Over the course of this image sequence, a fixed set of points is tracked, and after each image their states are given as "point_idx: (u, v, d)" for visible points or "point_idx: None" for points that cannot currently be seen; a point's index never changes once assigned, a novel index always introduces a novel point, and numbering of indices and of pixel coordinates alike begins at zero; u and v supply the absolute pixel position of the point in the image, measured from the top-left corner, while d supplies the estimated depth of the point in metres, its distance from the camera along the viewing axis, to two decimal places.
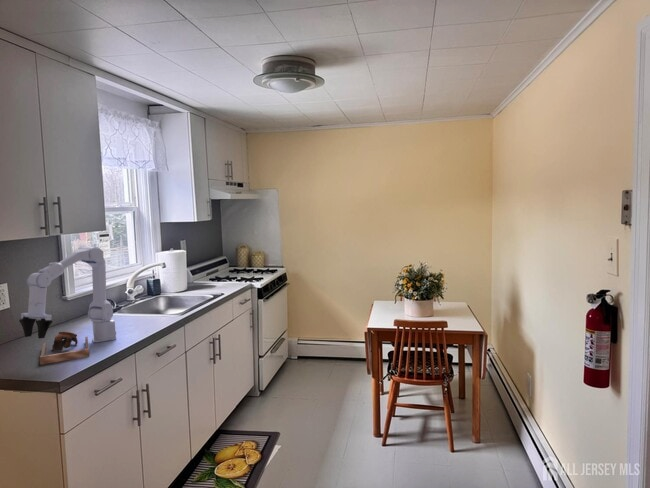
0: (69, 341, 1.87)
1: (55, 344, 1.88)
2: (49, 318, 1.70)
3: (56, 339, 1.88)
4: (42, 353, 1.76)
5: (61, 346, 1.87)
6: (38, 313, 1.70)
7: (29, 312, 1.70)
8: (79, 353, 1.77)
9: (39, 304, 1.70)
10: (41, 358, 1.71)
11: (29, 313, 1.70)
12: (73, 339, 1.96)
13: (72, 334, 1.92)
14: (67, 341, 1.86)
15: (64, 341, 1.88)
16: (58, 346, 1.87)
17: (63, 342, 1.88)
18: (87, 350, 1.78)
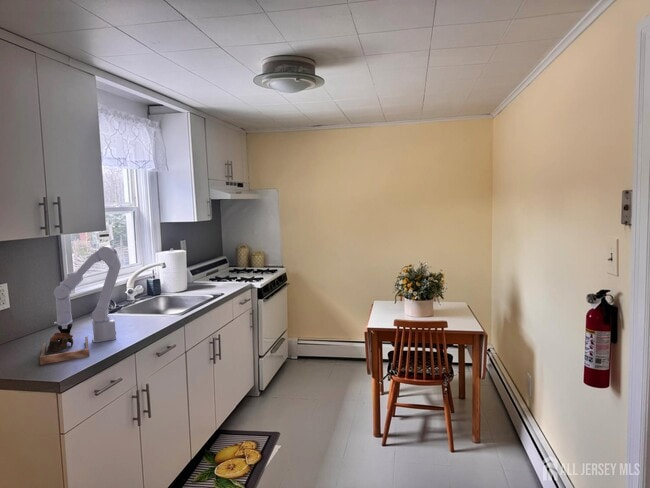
0: (65, 342, 1.85)
1: (51, 345, 1.86)
2: (65, 327, 1.90)
3: (52, 340, 1.86)
4: (42, 353, 1.76)
5: (57, 347, 1.85)
6: (61, 321, 1.93)
7: (57, 320, 1.95)
8: (79, 353, 1.77)
9: (61, 313, 1.93)
10: (41, 358, 1.71)
11: (57, 320, 1.95)
12: (69, 340, 1.94)
13: (68, 335, 1.90)
14: (63, 342, 1.85)
15: (60, 342, 1.86)
16: (54, 347, 1.85)
17: (59, 343, 1.86)
18: (87, 350, 1.78)
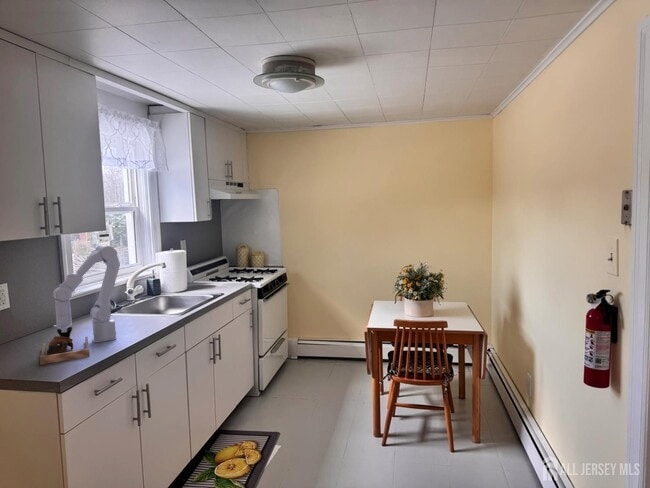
0: (65, 346, 1.80)
1: (50, 349, 1.80)
2: (64, 331, 1.84)
3: (51, 344, 1.81)
4: (42, 353, 1.76)
5: (56, 351, 1.80)
6: (61, 324, 1.87)
7: None
8: (79, 353, 1.77)
9: (60, 316, 1.87)
10: (41, 358, 1.71)
11: None
12: (68, 344, 1.88)
13: (68, 339, 1.84)
14: (63, 346, 1.79)
15: (59, 346, 1.81)
16: (53, 351, 1.80)
17: (59, 347, 1.80)
18: (87, 350, 1.78)
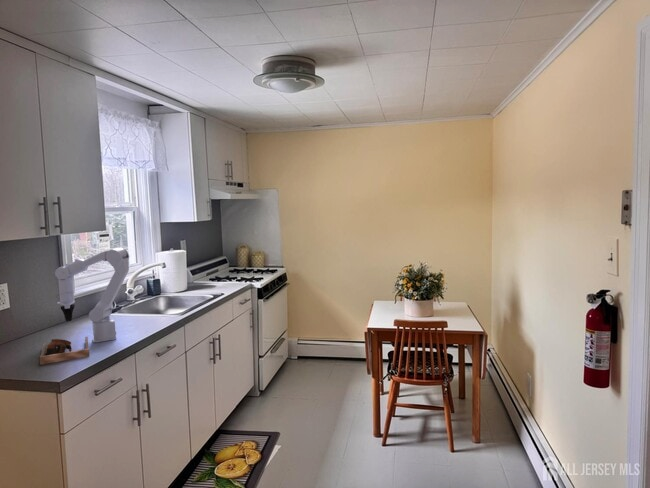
0: (63, 349, 1.76)
1: (48, 352, 1.77)
2: (67, 307, 1.94)
3: (49, 347, 1.77)
4: (42, 353, 1.76)
5: None
6: (64, 301, 1.97)
7: (60, 300, 1.98)
8: (79, 353, 1.77)
9: (63, 294, 1.97)
10: (41, 358, 1.71)
11: (60, 301, 1.98)
12: (67, 347, 1.85)
13: (66, 341, 1.81)
14: (61, 349, 1.76)
15: (58, 349, 1.77)
16: (51, 354, 1.76)
17: (57, 350, 1.77)
18: (87, 350, 1.78)
